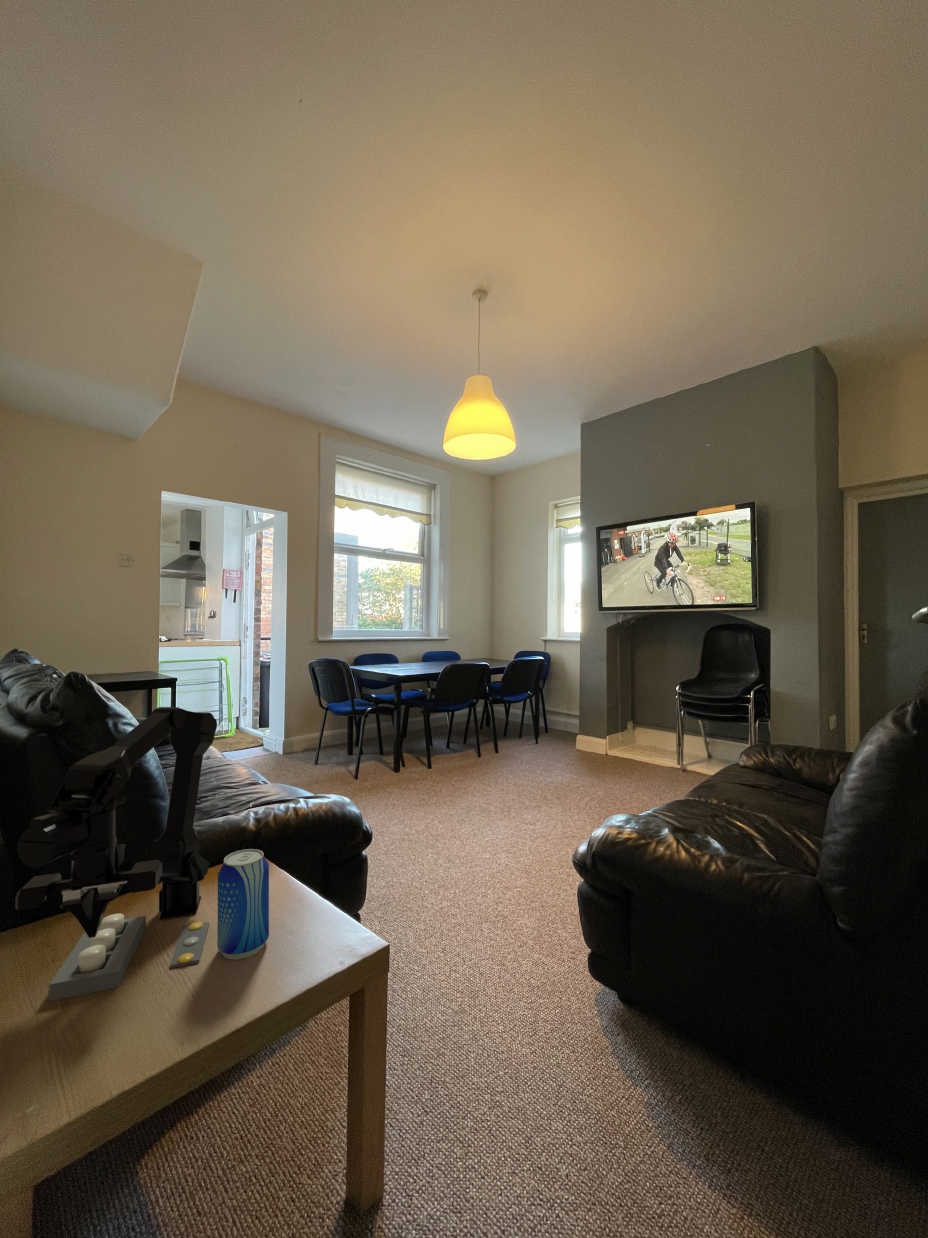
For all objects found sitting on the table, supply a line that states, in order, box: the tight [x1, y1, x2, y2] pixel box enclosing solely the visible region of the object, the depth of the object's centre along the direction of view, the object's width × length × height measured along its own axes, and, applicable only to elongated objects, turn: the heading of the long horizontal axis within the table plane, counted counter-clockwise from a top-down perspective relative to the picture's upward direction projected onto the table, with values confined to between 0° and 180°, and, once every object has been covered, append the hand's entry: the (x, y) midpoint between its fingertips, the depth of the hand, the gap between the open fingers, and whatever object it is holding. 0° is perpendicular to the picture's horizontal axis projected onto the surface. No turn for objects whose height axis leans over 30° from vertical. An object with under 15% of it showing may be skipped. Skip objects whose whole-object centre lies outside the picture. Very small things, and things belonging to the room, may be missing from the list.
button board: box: [48, 915, 147, 1002], centre depth 88 cm, size 9×17×2 cm, turn 19°
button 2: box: [100, 913, 125, 936], centre depth 93 cm, size 4×4×2 cm
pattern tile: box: [169, 921, 210, 969], centre depth 92 cm, size 4×12×1 cm, turn 19°
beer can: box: [216, 848, 270, 961], centre depth 92 cm, size 8×8×16 cm
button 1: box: [79, 945, 106, 973], centre depth 83 cm, size 4×4×2 cm
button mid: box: [90, 928, 115, 952], centre depth 88 cm, size 4×4×2 cm
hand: (93, 936), depth 83 cm, fingers closed
